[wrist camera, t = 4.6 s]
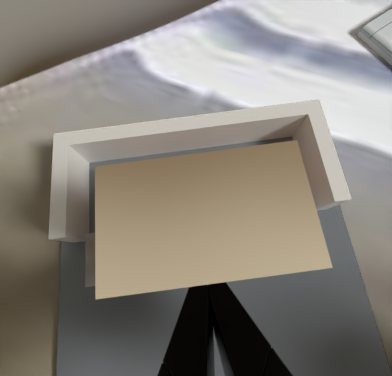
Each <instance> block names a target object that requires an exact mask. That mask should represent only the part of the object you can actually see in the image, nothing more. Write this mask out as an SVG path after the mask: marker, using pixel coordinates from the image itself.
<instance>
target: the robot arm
mask: <svg viewBox="0 0 392 376" xmlns="http://www.w3.org/2000/svg"><path fill="white" fill-rule="evenodd" d="M213 329H214V331H213ZM214 334H215V339H216V343H217V347H218V351H219V354H220V358H221V362H222V366H223V370H224V374H225V376H293V374H292V373H291V372H290V370H289V369H288V368H287V366H286V365H285V364H284V362H283V361H282V360H281V358H280V357H279V356H278V354H277V353H276V351H275V350H274V349H273V348H271V345H270V343H269V342H268V340H267V339H266V338H265V336H264V335H263V333H262V332H261V331H260V329H259V328H258V326H257V325H256V324H255V322H254V321H253V319H252V318H251V317H250V315H249V314H248V312H247V311H246V310H245V308H244V307H243V305H242V304H241V303H240V301H239V300H238V298H237V297H236V296H235V294H234V293H233V291H232V290H231V289H230V287H229V286H228V284H227V283H226V282H223V283H215V284H208V285H200V286H193V287H189V288H188V291H187V294H186V297H185V299H184V302H183V305H182V308H181V311H180V314H179V316H178V319H177V322H176V325H175V328H174V330H173V333H172V336H171V339H170V342H169V344H168V347H167V350H166V353H165V356H164V358H163V363H162V364H161V366H160V369H159V372H158V375H157V376H215V364H214Z"/></svg>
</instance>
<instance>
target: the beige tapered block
mask: <svg viewBox="0 0 392 376" xmlns="http://www.w3.org/2000/svg"><path fill="white" fill-rule="evenodd" d="M328 268H333V267H332V263H331V260H330V256H329V252H328V249H327V245H326V242H325V238H324V234H323V231H322V227H321V224H320V220H319V217H318V213H317V209H316V206H315V202H314V199H313V195H312V191H311V188H310V184H309V181H308V177H307V174H306V170H305V166H304V163H303V159H302V156H301V152H300V148H299V145H298V141H297V140H294V141H286V142H279V143H271V144H263V145H255V146H248V147H240V148H232V149H225V150H217V151H209V152H202V153H194V154H186V155H179V156H171V157H163V158H156V159H148V160H140V161H132V162H125V163H117V164H109V165H102V166H95V233H90V234H86V243H85V287H91V286H95V296H96V299H103V298H111V297H118V296H126V295H133V294H141V293H148V292H156V291H163V290H171V289H178V288H186V287H193V286H200V285H208V284H215V283H223V282H230V281H238V280H245V279H253V278H260V277H268V276H275V275H283V274H290V273H298V272H305V271H313V270H320V269H328Z"/></svg>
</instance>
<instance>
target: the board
mask: <svg viewBox="0 0 392 376" xmlns="http://www.w3.org/2000/svg"><path fill="white" fill-rule="evenodd" d="M286 141H293V138H292V136H291V137H284V138H276V139H268V140H261V141H253V142H245V143H238V144H230V145H222V146H215V147H207V148H199V149H191V150H184V151H176V152H168V153H161V154H153V155H145V156H138V157H130V158H122V159H114V160H107V161H99V162H91V163H89V234H90V233H95V166H102V165H109V164H117V163H125V162H132V161H140V160H148V159H156V158H163V157H171V156H179V155H186V154H194V153H202V152H209V151H217V150H225V149H232V148H240V147H248V146H255V145H263V144H271V143H279V142H286ZM317 213H318V217H319V220H320V224H321V227H322V231H323V234H324V238H325V242H326V245H327V249H328V252H329V256H330V260H331V263H332V267H333V268H328V269H320V270H313V271H305V272H298V273H290V274H283V275H275V276H268V277H260V278H253V279H245V280H238V281H230V282H226V283H227V284H228V286H229V287H230V289H231V290H232V291H233V293H234V294H235V296H236V297H237V298H238V300H239V301H240V303H241V304H242V305H243V307H244V308H245V310H246V311H247V312H248V314H249V315H250V317H251V318H252V319H253V321H254V322H255V324H256V325H257V326H258V328H259V329H260V331H261V332H262V333H263V335H264V336H265V338H266V339H267V340H268V342H269V343H270V345H271V348H273V349H274V350H275V351H276V353H277V354H278V356H279V357H280V358H281V360H282V361H283V362H284V364H285V365H286V366H287V368H288V369H289V370H290V372H291V373H292V374H293V376H392V373H391V370H390V367H389V364H388V360H387V357H386V354H385V351H384V347H383V344H382V341H381V338H380V334H379V331H378V328H377V325H376V321H375V318H374V315H373V312H372V308H371V305H370V302H369V299H368V296H367V292H366V289H365V286H364V283H363V279H362V276H361V273H360V270H359V266H358V263H357V260H356V257H355V253H354V250H353V247H352V244H351V241H350V237H349V234H348V231H347V228H346V224H345V221H344V218H343V215H342V211H341V208H340V205H336V206H334V207H331V208H329V209H326V210H318V211H317ZM85 243H86V241H83V242H76V243H74V242H66V241H61V257H60V285H59V313H58V340H57V368H56V376H157V375H158V372H159V369H160V366H161V364H162V363H163V358H164V356H165V353H166V350H167V347H168V344H169V342H170V339H171V336H172V333H173V330H174V328H175V325H176V322H177V319H178V316H179V314H180V311H181V308H182V305H183V302H184V299H185V297H186V294H187V291H188V288H189V287H186V288H178V289H171V290H163V291H156V292H148V293H141V294H133V295H126V296H118V297H111V298H103V299H96V296H95V286H91V287H85ZM213 331H214V329H213ZM214 364H215V376H225V374H224V370H223V366H222V362H221V358H220V354H219V351H218V347H217V343H216V339H215V334H214Z"/></svg>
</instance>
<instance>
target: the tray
mask: <svg viewBox="0 0 392 376" xmlns="http://www.w3.org/2000/svg"><path fill="white" fill-rule="evenodd" d="M291 136H292V138H293V141H294V140H297V141H298V145H299V148H300V152H301V156H302V159H303V163H304V166H305V170H306V174H307V177H308V181H309V184H310V188H311V191H312V195H313V199H314V202H315V206H316V209H317V211H318V210H326V209H329V208H331V207H334V206H336V205H339V204H341V203H344V202H346V201H349V200H351V195H350V192H349V189H348V186H347V183H346V180H345V177H344V174H343V171H342V168H341V165H340V162H339V159H338V156H337V153H336V150H335V146H334V143H333V140H332V137H331V134H330V131H329V128H328V125H327V122H326V119H325V116H324V113H323V110H322V107H321V104H320V101H319V100H311V101H303V102H296V103H288V104H280V105H272V106H264V107H257V108H249V109H241V110H233V111H226V112H218V113H210V114H202V115H195V116H187V117H179V118H171V119H164V120H156V121H148V122H140V123H133V124H125V125H117V126H109V127H102V128H94V129H86V130H78V131H71V132H63V133H55V134H54V139H53V158H52V178H51V197H50V216H49V236H48V239H49V240H57V241H66V242H74V243H76V242H83V241H86V234H89V163H91V162H99V161H107V160H114V159H122V158H130V157H138V156H145V155H153V154H161V153H168V152H176V151H184V150H191V149H199V148H207V147H215V146H222V145H230V144H238V143H245V142H253V141H261V140H268V139H276V138H284V137H291Z"/></svg>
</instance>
